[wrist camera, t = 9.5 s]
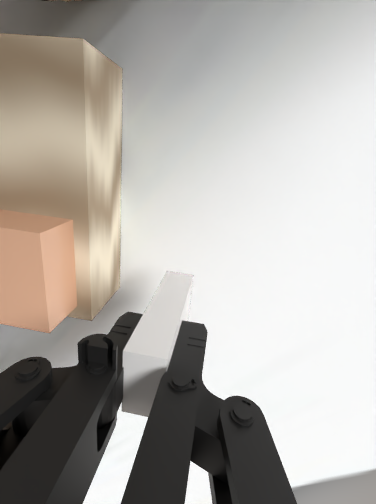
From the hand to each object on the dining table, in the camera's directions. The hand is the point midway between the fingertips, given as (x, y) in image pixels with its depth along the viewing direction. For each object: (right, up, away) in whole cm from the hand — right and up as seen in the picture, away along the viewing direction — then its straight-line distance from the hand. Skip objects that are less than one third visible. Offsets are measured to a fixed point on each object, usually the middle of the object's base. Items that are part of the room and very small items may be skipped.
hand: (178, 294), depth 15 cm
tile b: (-10, +2, +2) cm, 10 cm away
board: (-10, +8, +6) cm, 14 cm away
